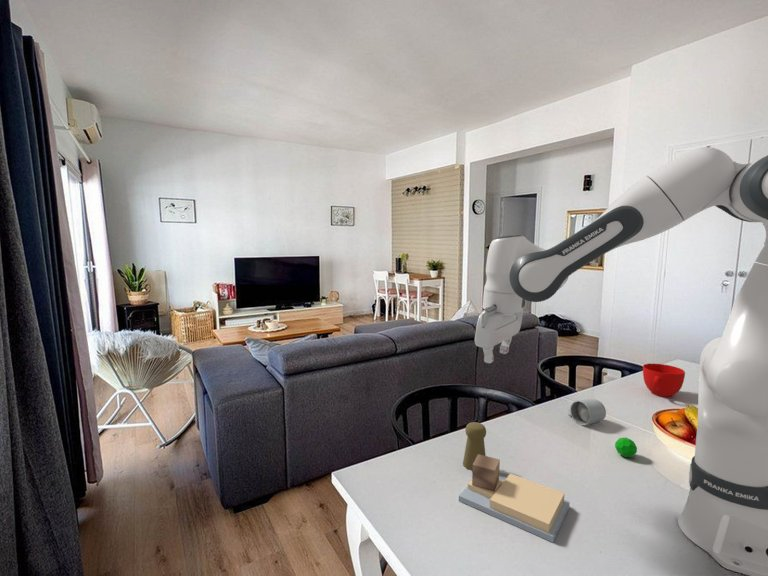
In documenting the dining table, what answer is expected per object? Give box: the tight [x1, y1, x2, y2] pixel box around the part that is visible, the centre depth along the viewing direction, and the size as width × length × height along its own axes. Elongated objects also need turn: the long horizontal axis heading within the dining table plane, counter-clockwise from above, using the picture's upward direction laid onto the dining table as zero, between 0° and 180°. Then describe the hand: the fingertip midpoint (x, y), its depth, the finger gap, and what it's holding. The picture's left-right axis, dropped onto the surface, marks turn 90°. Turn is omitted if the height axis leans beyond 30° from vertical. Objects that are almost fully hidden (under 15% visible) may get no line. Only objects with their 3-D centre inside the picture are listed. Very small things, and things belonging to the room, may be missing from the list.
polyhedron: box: [614, 437, 638, 458], centre depth 105 cm, size 5×5×5 cm
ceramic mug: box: [567, 398, 607, 426], centre depth 126 cm, size 11×8×8 cm
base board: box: [458, 473, 570, 543], centre depth 86 cm, size 20×13×3 cm, turn 52°
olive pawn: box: [462, 421, 487, 472], centre depth 100 cm, size 6×6×11 cm
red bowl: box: [642, 363, 686, 398], centre depth 146 cm, size 13×17×10 cm
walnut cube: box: [471, 454, 501, 492], centre depth 89 cm, size 5×5×5 cm
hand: (496, 357), depth 96 cm, fingers open, 8 cm apart
